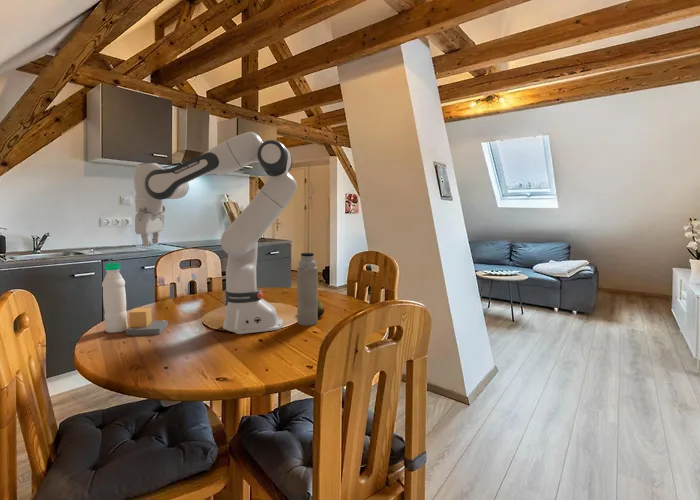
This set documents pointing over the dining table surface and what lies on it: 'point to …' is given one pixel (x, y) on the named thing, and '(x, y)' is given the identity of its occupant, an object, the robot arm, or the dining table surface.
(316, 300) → the thermos bottle
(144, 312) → the wooden cube
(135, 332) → the plate
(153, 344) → the dining table surface
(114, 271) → the white milk bottle
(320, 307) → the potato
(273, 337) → the dining table surface
